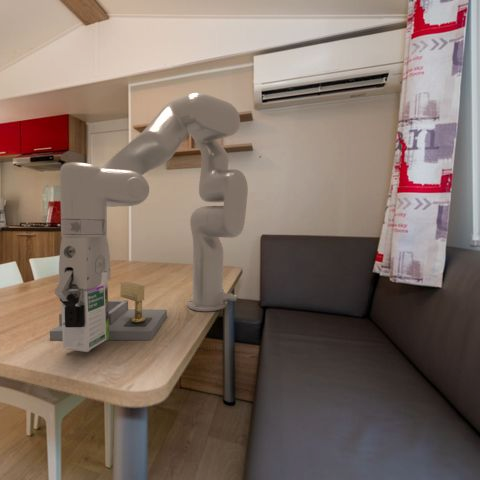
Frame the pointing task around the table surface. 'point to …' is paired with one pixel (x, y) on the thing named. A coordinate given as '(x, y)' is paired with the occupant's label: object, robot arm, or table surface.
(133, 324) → the plate
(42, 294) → the table surface
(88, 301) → the syrup box
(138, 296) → the brass key
